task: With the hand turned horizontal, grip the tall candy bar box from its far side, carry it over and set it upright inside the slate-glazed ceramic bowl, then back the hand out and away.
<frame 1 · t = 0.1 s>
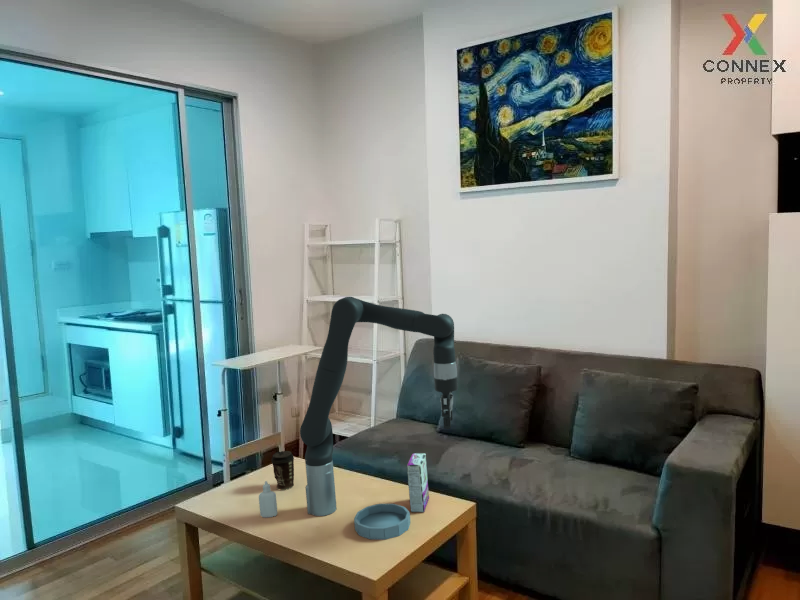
hand: (448, 424, 191), 29 cm above the table, tool pointing down, fingers open, 8 cm apart
candy bar box: (419, 505, 199), on the table
bowl: (382, 526, 186), on the table
eye dropper bottle: (269, 516, 200), on the table
coffee cup: (285, 487, 224), on the table
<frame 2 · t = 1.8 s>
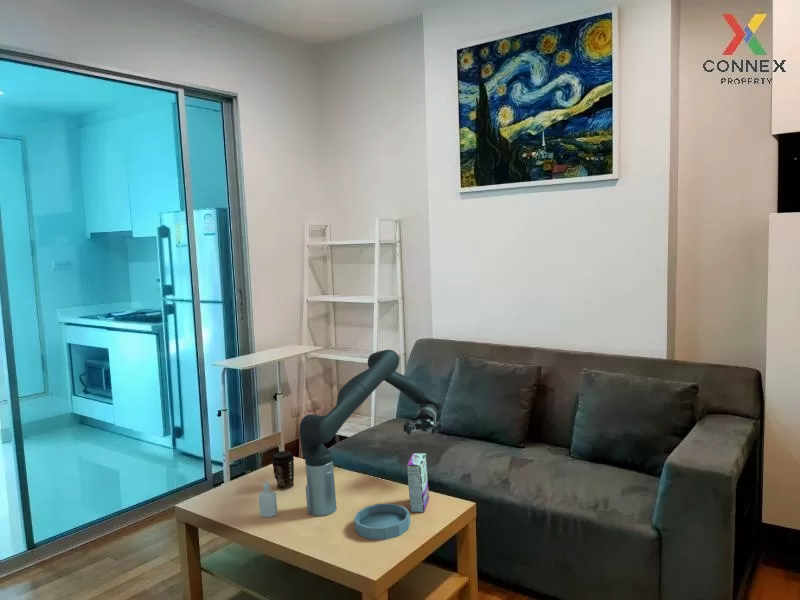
hand: (420, 432, 212), 21 cm above the table, tool horizontal, fingers open, 8 cm apart
nothing on the table moved.
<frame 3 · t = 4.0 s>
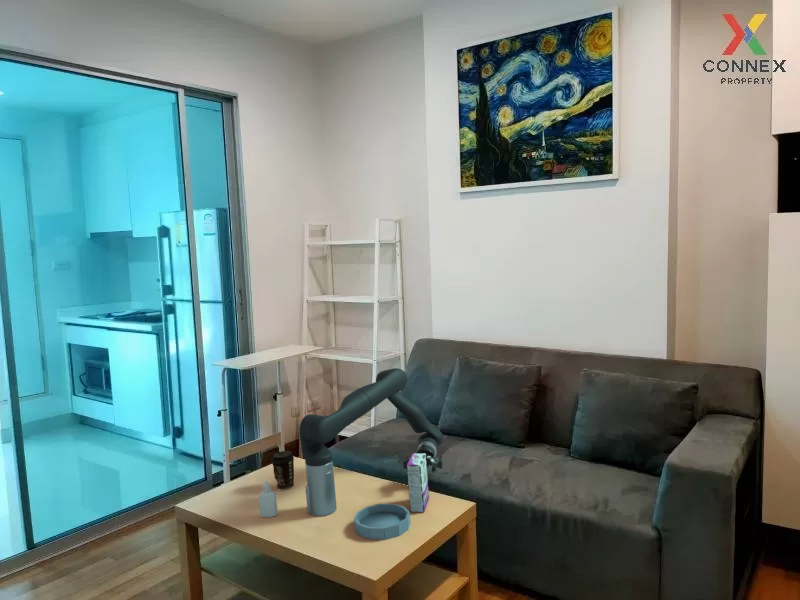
hand: (420, 470, 207), 9 cm above the table, tool horizontal, fingers open, 8 cm apart
nothing on the table moved.
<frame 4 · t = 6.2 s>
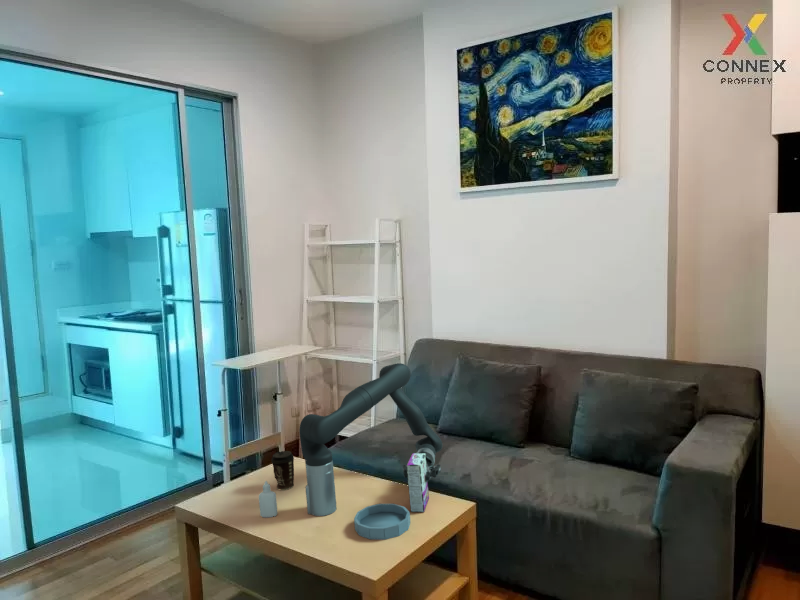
hand: (418, 479, 199), 9 cm above the table, tool horizontal, fingers closed on candy bar box, 5 cm apart
candy bar box: (419, 505, 199), on the table, touching gripper
everything else where it was.
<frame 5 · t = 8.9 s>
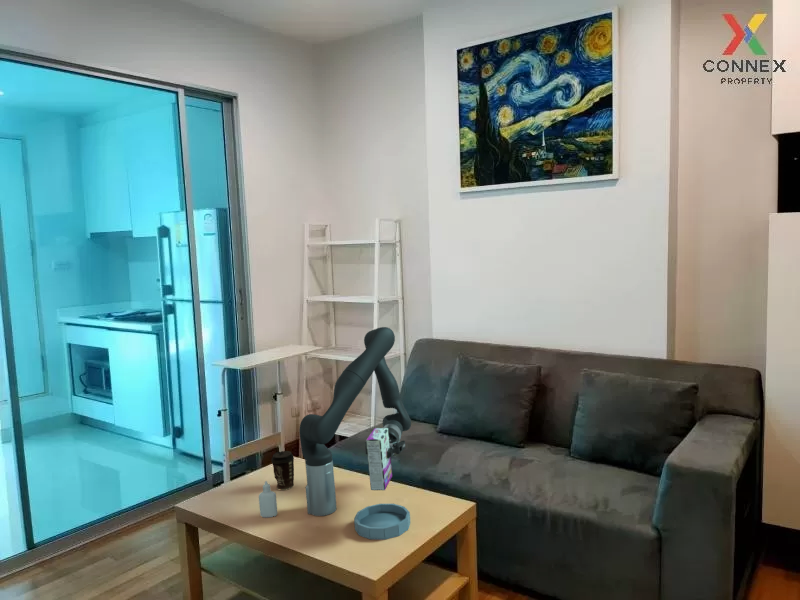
hand: (379, 455, 185), 23 cm above the table, tool horizontal, fingers closed on candy bar box, 5 cm apart
candy bar box: (381, 484, 186), point 13 cm above the table, touching gripper
everything else where it was.
when the fingers open (11 cm above the table, at t = 11.7 s): candy bar box drops 1 cm, resting on bowl.
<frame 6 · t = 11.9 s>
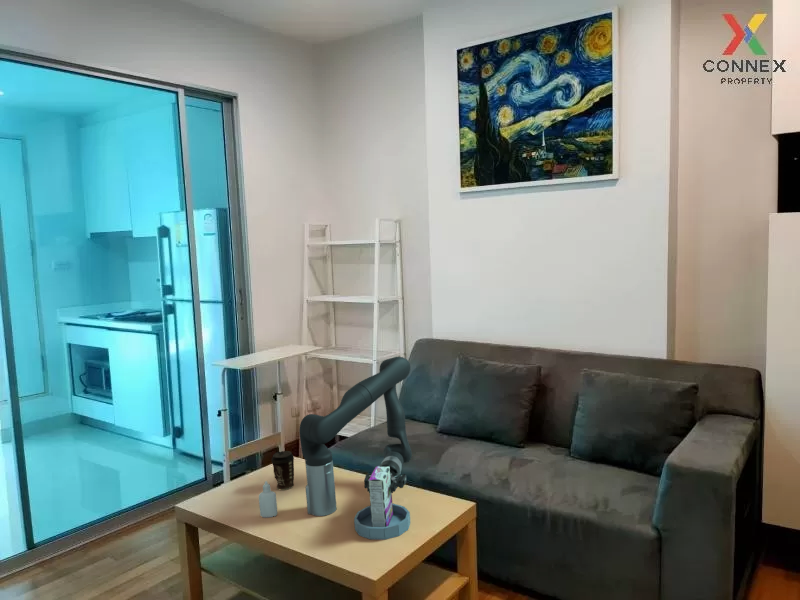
hand: (380, 490, 186), 11 cm above the table, tool horizontal, fingers open, 6 cm apart
candy bar box: (382, 522, 187), point 1 cm above the table, touching bowl
everything else where it was.
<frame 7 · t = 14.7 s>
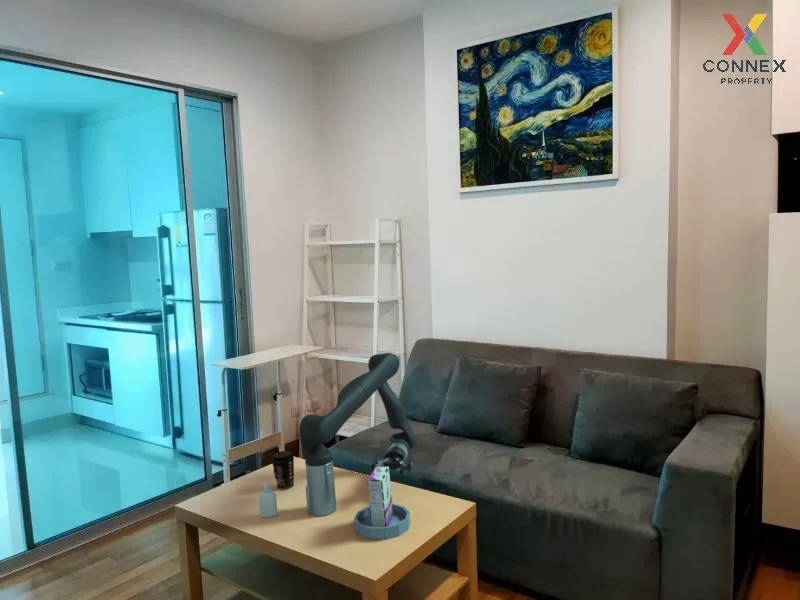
hand: (388, 473, 200), 11 cm above the table, tool horizontal, fingers open, 8 cm apart
nothing on the table moved.
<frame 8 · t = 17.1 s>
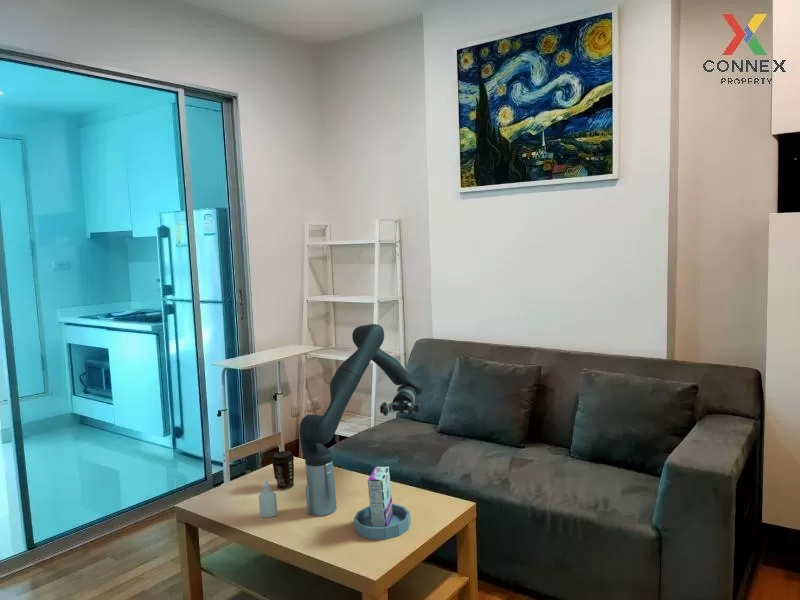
hand: (397, 413, 206), 30 cm above the table, tool horizontal, fingers open, 8 cm apart
nothing on the table moved.
at the end: candy bar box inside the target area on the bowl (0.3 cm from its centre), point 0.8 cm above the bowl's base; candy bar box tilted 0°; the gripper is holding nothing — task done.
